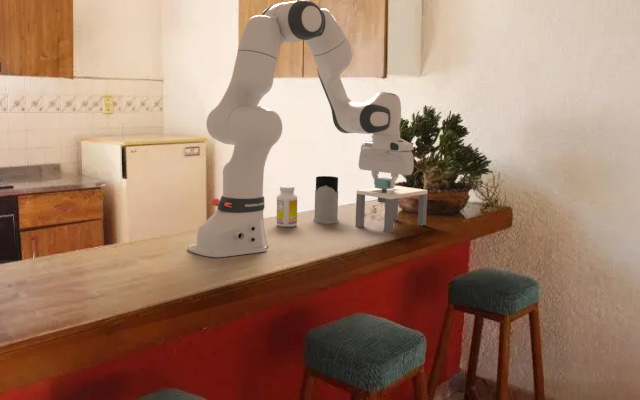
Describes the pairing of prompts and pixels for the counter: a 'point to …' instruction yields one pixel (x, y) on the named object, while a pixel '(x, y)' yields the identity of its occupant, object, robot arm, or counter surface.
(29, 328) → the counter surface
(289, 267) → the counter surface
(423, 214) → the keyhole bracket
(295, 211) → the supplement bottle
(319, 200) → the glass holder
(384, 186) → the keyhole peg
